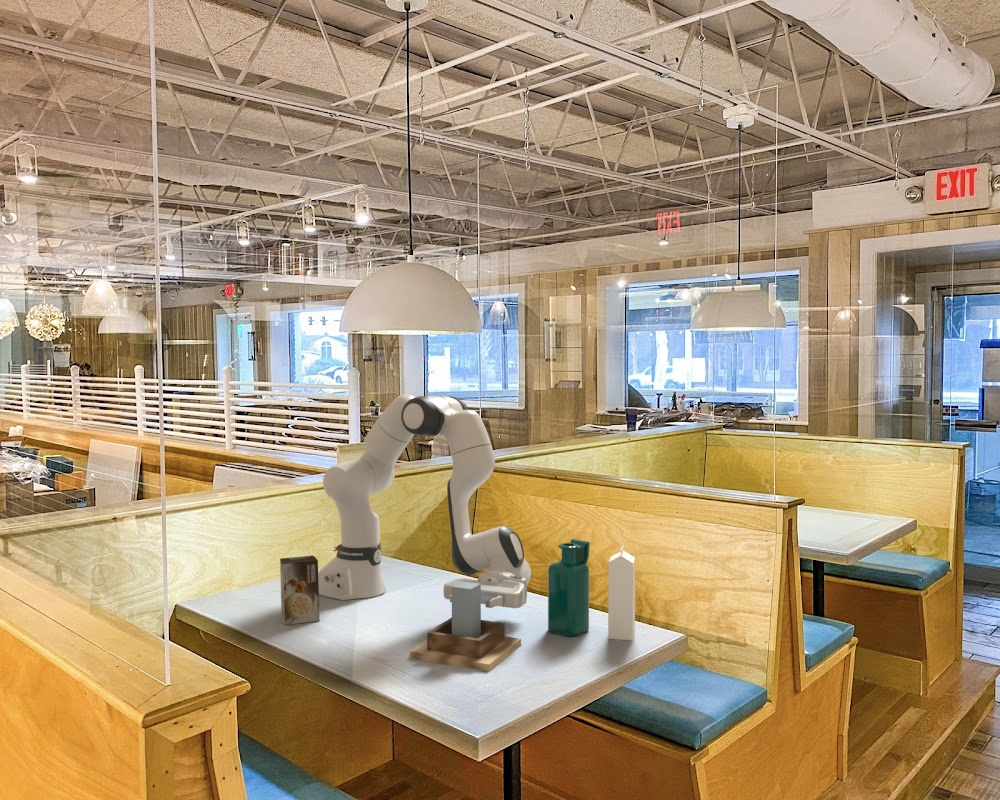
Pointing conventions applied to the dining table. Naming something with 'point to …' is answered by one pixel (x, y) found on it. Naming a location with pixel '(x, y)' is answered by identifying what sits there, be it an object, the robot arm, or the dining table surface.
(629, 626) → the milk
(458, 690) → the dining table surface
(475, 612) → the grey block
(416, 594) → the dining table surface
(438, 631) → the caddy
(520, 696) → the dining table surface
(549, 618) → the green tall squared bottle
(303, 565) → the coffee box
